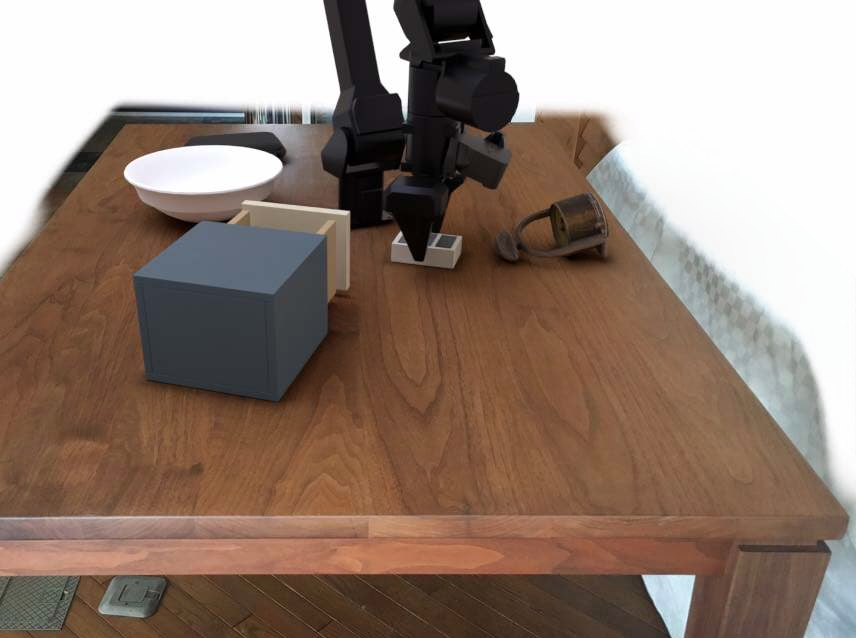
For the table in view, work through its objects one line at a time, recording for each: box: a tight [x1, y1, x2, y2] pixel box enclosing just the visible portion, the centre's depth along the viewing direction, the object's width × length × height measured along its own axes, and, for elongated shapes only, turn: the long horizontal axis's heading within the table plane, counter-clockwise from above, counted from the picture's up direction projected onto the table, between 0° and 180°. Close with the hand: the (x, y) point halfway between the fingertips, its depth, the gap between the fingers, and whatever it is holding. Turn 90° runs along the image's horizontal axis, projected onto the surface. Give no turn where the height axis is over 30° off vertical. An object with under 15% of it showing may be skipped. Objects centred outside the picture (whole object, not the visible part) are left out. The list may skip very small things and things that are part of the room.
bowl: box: [123, 145, 284, 224], centre depth 115 cm, size 20×20×6 cm
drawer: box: [227, 200, 351, 303], centre depth 91 cm, size 16×11×8 cm
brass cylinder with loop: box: [494, 191, 610, 263], centre depth 103 cm, size 7×13×10 cm
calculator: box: [390, 230, 463, 270], centre depth 103 cm, size 7×5×2 cm, turn 72°
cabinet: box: [132, 221, 329, 403], centre depth 81 cm, size 14×13×10 cm
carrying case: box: [183, 131, 287, 162], centre depth 136 cm, size 11×3×15 cm
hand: (426, 249), depth 103 cm, fingers open, 7 cm apart
